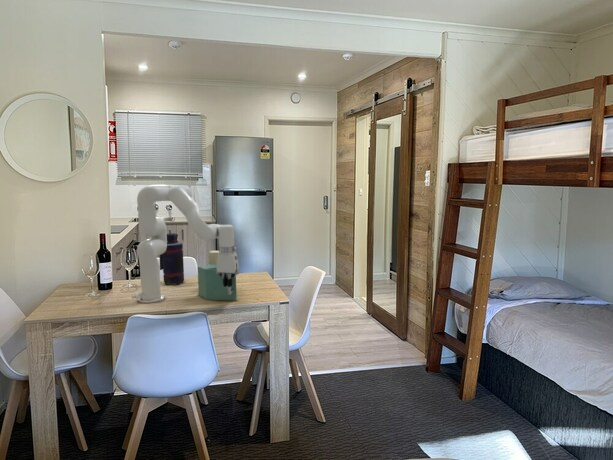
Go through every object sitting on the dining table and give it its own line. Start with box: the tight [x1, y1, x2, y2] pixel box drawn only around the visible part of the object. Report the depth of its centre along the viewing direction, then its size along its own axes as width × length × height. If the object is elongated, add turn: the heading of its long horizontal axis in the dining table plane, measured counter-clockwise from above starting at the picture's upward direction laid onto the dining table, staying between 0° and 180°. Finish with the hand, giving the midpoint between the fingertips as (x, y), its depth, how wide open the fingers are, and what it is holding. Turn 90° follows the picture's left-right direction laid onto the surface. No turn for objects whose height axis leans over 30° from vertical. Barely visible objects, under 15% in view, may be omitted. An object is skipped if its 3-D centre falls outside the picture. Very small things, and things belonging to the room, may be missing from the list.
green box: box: [206, 269, 238, 302], centre depth 226 cm, size 6×16×16 cm, turn 80°
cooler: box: [197, 264, 217, 300], centre depth 239 cm, size 10×16×16 cm, turn 126°
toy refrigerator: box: [207, 250, 219, 265], centre depth 256 cm, size 8×7×21 cm
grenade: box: [158, 232, 185, 286], centre depth 267 cm, size 14×12×30 cm
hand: (227, 286), depth 222 cm, fingers closed on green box
